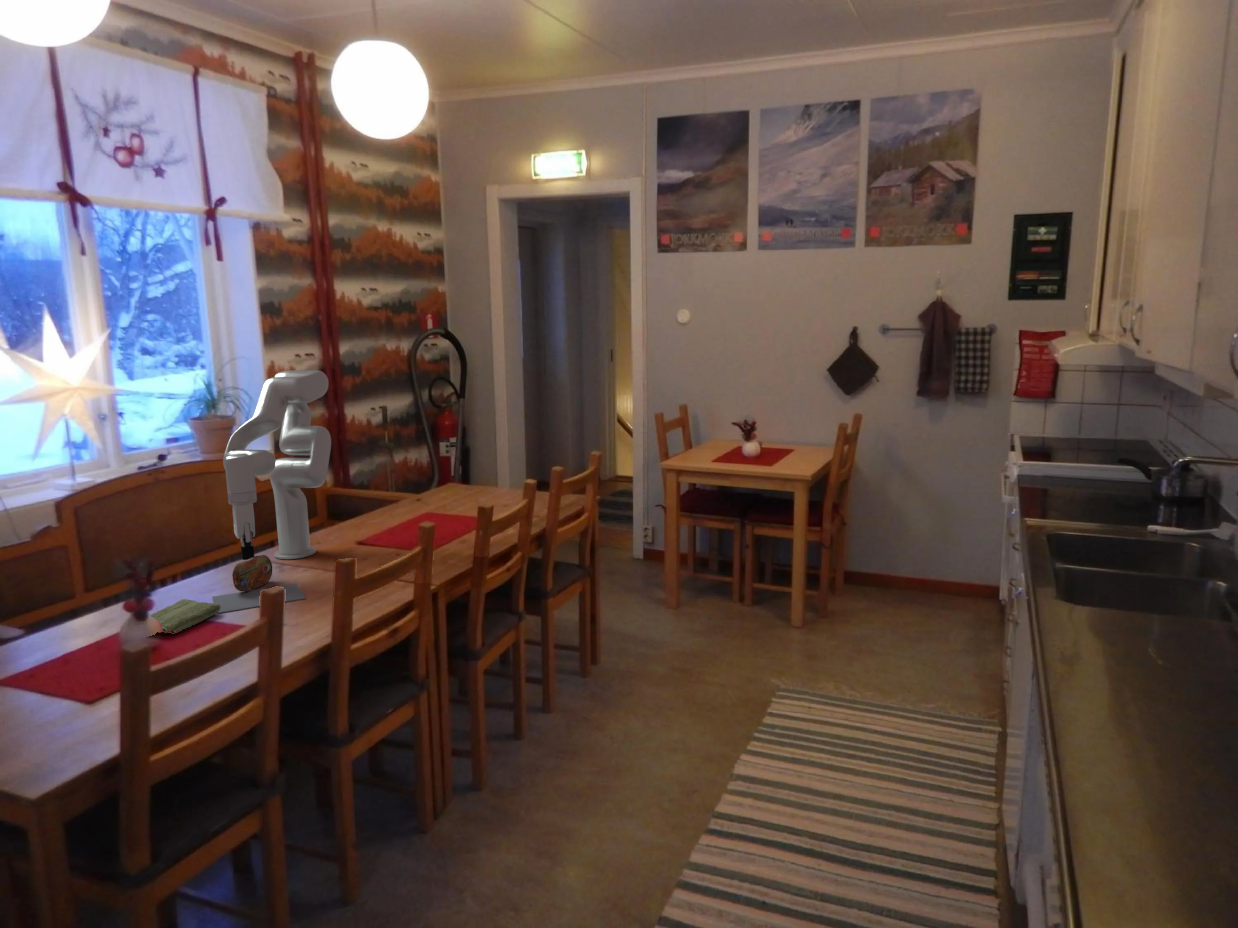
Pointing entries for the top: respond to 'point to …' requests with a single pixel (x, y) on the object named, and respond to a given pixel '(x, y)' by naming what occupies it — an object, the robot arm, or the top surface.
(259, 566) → the tin
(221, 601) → the mat
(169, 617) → the washcloth
